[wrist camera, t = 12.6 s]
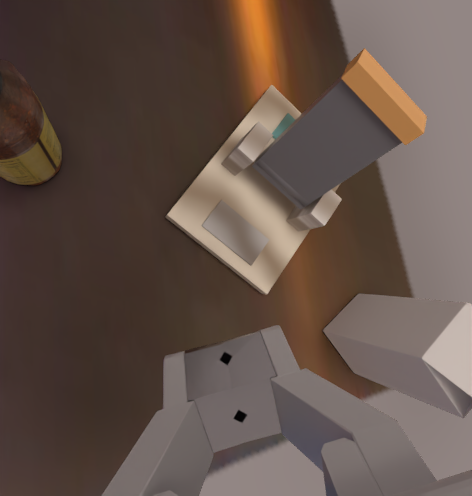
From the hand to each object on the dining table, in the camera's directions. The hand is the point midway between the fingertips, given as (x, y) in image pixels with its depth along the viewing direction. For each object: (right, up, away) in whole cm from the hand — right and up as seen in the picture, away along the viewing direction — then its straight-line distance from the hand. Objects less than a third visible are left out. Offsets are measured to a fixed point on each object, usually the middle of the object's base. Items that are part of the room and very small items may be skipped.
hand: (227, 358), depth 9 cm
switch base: (+4, +10, +33) cm, 35 cm away
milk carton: (+15, -8, +36) cm, 40 cm away
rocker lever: (+5, +10, +28) cm, 30 cm away
